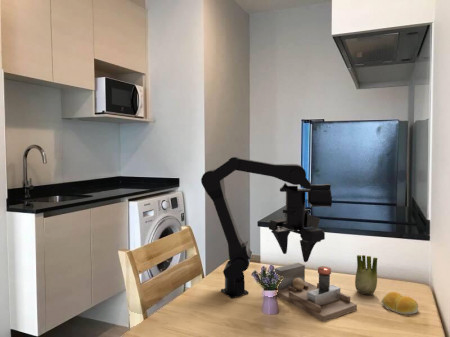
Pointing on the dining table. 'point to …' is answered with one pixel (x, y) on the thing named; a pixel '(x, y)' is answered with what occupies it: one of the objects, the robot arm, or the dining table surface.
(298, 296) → the base
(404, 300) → the bread roll
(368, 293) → the fennel bulb
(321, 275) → the sliding jaw
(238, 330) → the dining table surface
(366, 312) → the dining table surface
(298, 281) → the walnut
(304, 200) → the robot arm
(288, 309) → the dining table surface
